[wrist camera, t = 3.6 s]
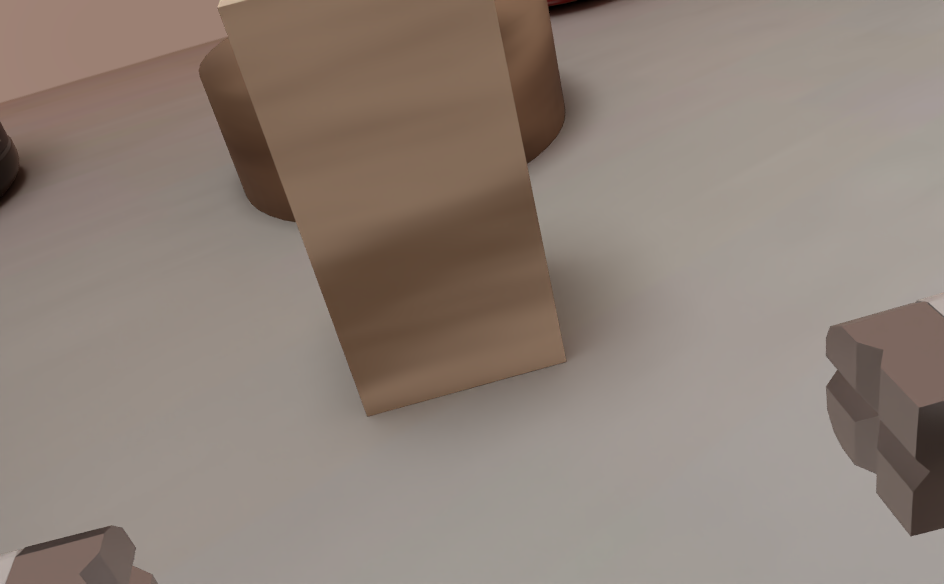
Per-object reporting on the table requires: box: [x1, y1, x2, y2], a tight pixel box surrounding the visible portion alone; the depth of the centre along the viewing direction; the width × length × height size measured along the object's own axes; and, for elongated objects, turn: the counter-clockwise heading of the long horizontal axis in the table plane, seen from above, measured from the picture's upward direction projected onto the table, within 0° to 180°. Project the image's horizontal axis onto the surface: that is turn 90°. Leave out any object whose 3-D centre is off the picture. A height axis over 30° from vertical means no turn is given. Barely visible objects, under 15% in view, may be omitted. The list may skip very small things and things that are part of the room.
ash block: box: [217, 0, 566, 417], centre depth 21 cm, size 5×5×10 cm
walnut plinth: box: [199, 0, 565, 222], centre depth 35 cm, size 13×13×5 cm
